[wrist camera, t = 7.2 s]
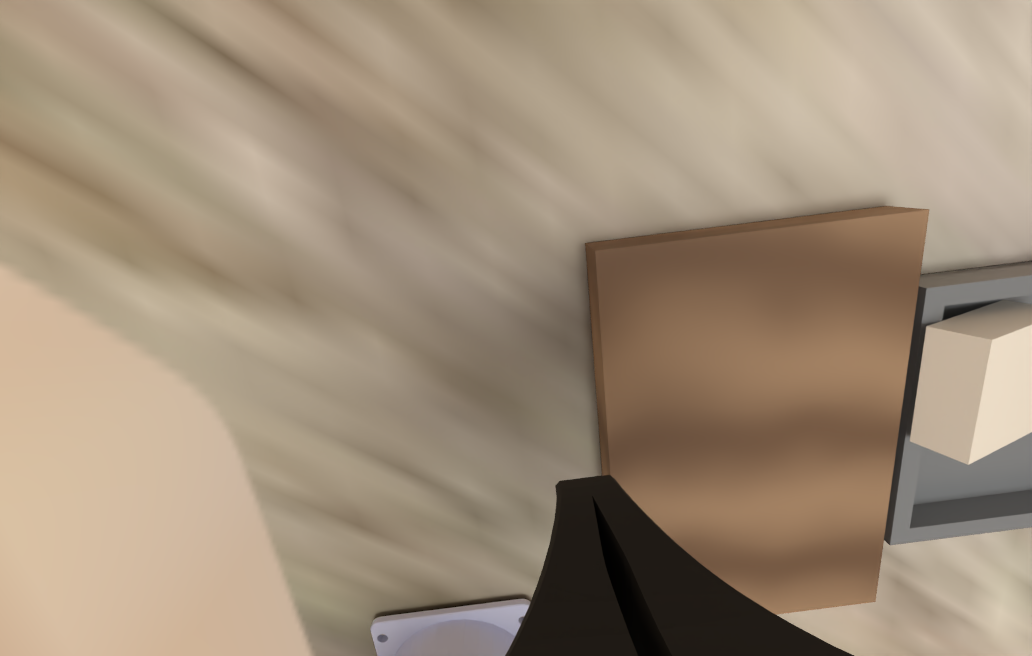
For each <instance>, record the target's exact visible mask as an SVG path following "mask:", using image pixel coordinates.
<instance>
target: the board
mask: <svg viewBox="0 0 1032 656" xmlns="http://www.w3.org/2000/svg"><path fill="white" fill-rule="evenodd" d="M928 215H929V210H928V209H916V208H904V207H892V206H883V207H875V208H867V209H858V210H850V211H842V212H834V213H826V214H818V215H810V216H802V217H794V218H786V219H777V220H769V221H761V222H753V223H745V224H737V225H729V226H721V227H713V228H705V229H697V230H688V231H680V232H672V233H664V234H656V235H648V236H640V237H632V238H624V239H616V240H608V241H599V242H591V243H585V246H586V260H587V273H588V287H589V301H590V314H591V328H592V342H593V355H594V369H595V383H596V396H597V410H598V424H599V438H600V451H601V465H602V476H604V475H611V476H612V477H613V478H614V479H615V480H616V481H617V482H618V483H619V485H620V486H621V487H622V488H623V489H624V491H625V492H626V493H627V494H628V495H629V496H630V497H631V498H632V500H633V501H634V502H635V503H636V504H637V505H638V506H639V507H640V508H641V509H642V510H643V511H644V512H645V513H646V514H647V515H648V516H649V517H650V518H651V519H652V520H653V521H654V522H655V523H656V524H657V525H658V526H659V527H660V528H661V529H662V530H663V531H664V532H665V533H666V534H667V535H668V536H669V537H670V538H671V539H673V540H674V541H675V542H676V543H677V544H678V545H679V546H680V547H682V548H683V549H684V550H685V551H686V552H687V553H689V554H690V555H691V556H692V557H693V558H695V559H696V560H697V561H698V562H699V563H701V564H702V565H703V566H704V567H706V568H707V569H708V570H710V571H711V572H712V573H714V574H715V575H716V576H718V577H719V578H720V579H722V580H723V581H724V582H726V583H727V584H728V585H730V586H731V587H733V588H734V589H736V590H737V591H739V592H740V593H742V594H743V595H745V596H746V597H748V598H750V599H751V600H753V601H754V602H756V603H758V604H759V605H761V606H762V607H764V608H766V609H767V610H769V611H770V612H772V613H774V614H783V613H791V612H799V611H807V610H814V609H822V608H830V607H838V606H846V605H853V604H861V603H869V602H875V600H876V593H877V586H878V578H879V571H880V564H881V557H882V549H883V542H884V535H885V527H886V520H887V513H888V506H889V498H890V491H891V484H892V477H893V469H894V462H895V455H896V448H897V440H898V433H899V426H900V418H901V411H902V404H903V397H904V389H905V382H906V375H907V368H908V360H909V353H910V346H911V339H912V331H913V324H914V317H915V309H916V302H917V295H918V288H919V280H920V273H921V266H922V259H923V251H924V244H925V237H926V229H927V222H928Z"/></svg>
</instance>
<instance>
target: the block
mask: <svg viewBox="0 0 1032 656" xmlns="http://www.w3.org/2000/svg"><path fill="white" fill-rule="evenodd" d="M1031 432H1032V304H1027V303H1020V302H1013V301H1007V300H1001V301H998V302H996V303H993V304H990V305H987V306H984V307H981V308H978V309H975V310H972V311H969V312H967V313H964V314H961V315H958V316H955V317H952V318H949V319H946V320H943V321H940V322H938V323H935V324H932V325H929V326H926V333H925V340H924V346H923V353H922V360H921V367H920V374H919V381H918V388H917V394H916V401H915V408H914V415H913V422H912V429H911V436H910V442H913V443H915V444H918V445H920V446H923V447H925V448H928V449H930V450H933V451H935V452H938V453H940V454H943V455H945V456H948V457H950V458H952V459H955V460H957V461H960V462H962V463H965V464H967V465H969V464H971V463H973V462H975V461H977V460H979V459H981V458H983V457H985V456H987V455H988V454H990V453H992V452H994V451H996V450H998V449H1000V448H1002V447H1004V446H1006V445H1008V444H1010V443H1012V442H1014V441H1016V440H1017V439H1019V438H1021V437H1023V436H1025V435H1027V434H1029V433H1031Z"/></svg>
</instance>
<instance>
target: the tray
mask: <svg viewBox="0 0 1032 656" xmlns="http://www.w3.org/2000/svg"><path fill="white" fill-rule="evenodd" d="M1001 300H1007V301H1013V302H1020V303H1027V304H1032V261H1028V262H1020V263H1012V264H1003V265H995V266H987V267H979V268H971V269H963V270H955V271H947V272H939V273H931V274H923V275H920V280H919V288H918V295H917V302H916V309H915V317H914V324H913V331H912V339H911V346H910V353H909V360H908V368H907V375H906V382H905V389H904V397H903V404H902V411H901V418H900V426H899V433H898V440H897V448H896V455H895V462H894V469H893V477H892V484H891V491H890V498H889V506H888V513H887V520H886V527H885V535H884V540H885V541H886V542H887V543H888V544H889V545H896V544H904V543H912V542H919V541H927V540H935V539H943V538H951V537H959V536H966V535H974V534H982V533H990V532H998V531H1006V530H1013V529H1021V528H1029V527H1032V432H1031V433H1029V434H1027V435H1025V436H1023V437H1021V438H1019V439H1017V440H1016V441H1014V442H1012V443H1010V444H1008V445H1006V446H1004V447H1002V448H1000V449H998V450H996V451H994V452H992V453H990V454H988V455H987V456H985V457H983V458H981V459H979V460H977V461H975V462H973V463H971V464H969V465H967V464H965V463H962V462H960V461H957V460H955V459H952V458H950V457H948V456H945V455H943V454H940V453H938V452H935V451H933V450H930V449H928V448H925V447H923V446H920V445H918V444H915V443H913V442H910V436H911V429H912V422H913V415H914V408H915V401H916V394H917V388H918V381H919V374H920V367H921V360H922V353H923V346H924V340H925V333H926V326H929V325H932V324H935V323H938V322H940V321H943V320H946V319H949V318H952V317H955V316H958V315H961V314H964V313H967V312H969V311H972V310H975V309H978V308H981V307H984V306H987V305H990V304H993V303H996V302H998V301H1001Z"/></svg>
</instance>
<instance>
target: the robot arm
mask: <svg viewBox="0 0 1032 656" xmlns="http://www.w3.org/2000/svg"><path fill="white" fill-rule="evenodd" d="M556 495H557V503H556V513H555V520H554V525H553V530H552V535H551V540H550V545H549V548H548V552H547V555H546V559H545V562H544V566H543V569H542V573H541V576H540V578H539V581H538V584H537V587H536V590H535V592H534V595H533V597H532V600H531V602H530V601H529V600H527V599H515V600H507V601H499V602H491V603H484V604H476V605H468V606H460V607H452V608H444V609H437V610H429V611H421V612H413V613H405V614H397V615H390V616H382V617H378V618H375V619H374V620H373V622H372V625H371V634H372V638H373V642H374V645H375V649H376V653H377V656H854V655H852V654H849V653H847V652H845V651H843V650H841V649H839V648H836V647H834V646H832V645H830V644H828V643H826V642H824V641H823V640H821V639H819V638H817V637H815V636H813V635H811V634H809V633H808V632H806V631H804V630H802V629H800V628H798V627H796V626H794V625H793V624H791V623H789V622H787V621H786V620H784V619H782V618H780V617H779V616H777V615H775V614H774V613H772V612H770V611H769V610H767V609H766V608H764V607H762V606H761V605H759V604H758V603H756V602H754V601H753V600H751V599H750V598H748V597H746V596H745V595H743V594H742V593H740V592H739V591H737V590H736V589H734V588H733V587H731V586H730V585H728V584H727V583H726V582H724V581H723V580H722V579H720V578H719V577H718V576H716V575H715V574H714V573H712V572H711V571H710V570H708V569H707V568H706V567H704V566H703V565H702V564H701V563H699V562H698V561H697V560H696V559H695V558H693V557H692V556H691V555H690V554H689V553H687V552H686V551H685V550H684V549H683V548H682V547H680V546H679V545H678V544H677V543H676V542H675V541H674V540H673V539H671V538H670V537H669V536H668V535H667V534H666V533H665V532H664V531H663V530H662V529H661V528H660V527H659V526H658V525H657V524H656V523H655V522H654V521H653V520H652V519H651V518H650V517H649V516H648V515H647V514H646V513H645V512H644V511H643V510H642V509H641V508H640V507H639V506H638V505H637V504H636V503H635V502H634V501H633V500H632V498H631V497H630V496H629V495H628V494H627V493H626V492H625V491H624V489H623V488H622V487H621V486H620V485H619V483H618V482H617V481H616V480H615V479H614V478H613V477H612V476H611V475H604V476H596V477H588V478H580V479H572V480H564V481H559V482H558V484H557V485H556ZM522 616H524V618H523V617H522ZM381 634H384V635H381Z"/></svg>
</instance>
